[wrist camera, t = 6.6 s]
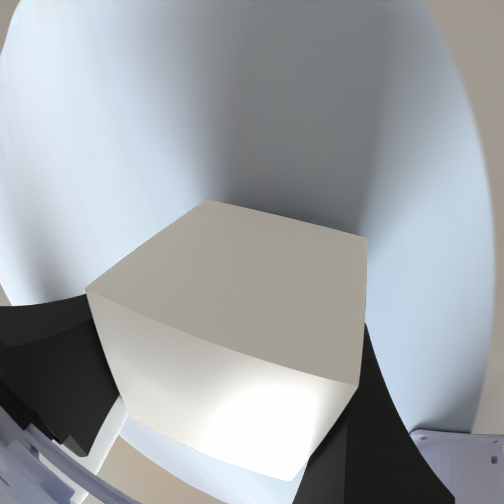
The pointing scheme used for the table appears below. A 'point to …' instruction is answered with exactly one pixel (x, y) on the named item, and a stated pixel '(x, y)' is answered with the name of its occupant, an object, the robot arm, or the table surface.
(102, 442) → the foam cup
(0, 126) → the table surface
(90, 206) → the table surface
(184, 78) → the table surface
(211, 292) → the white cubic block
